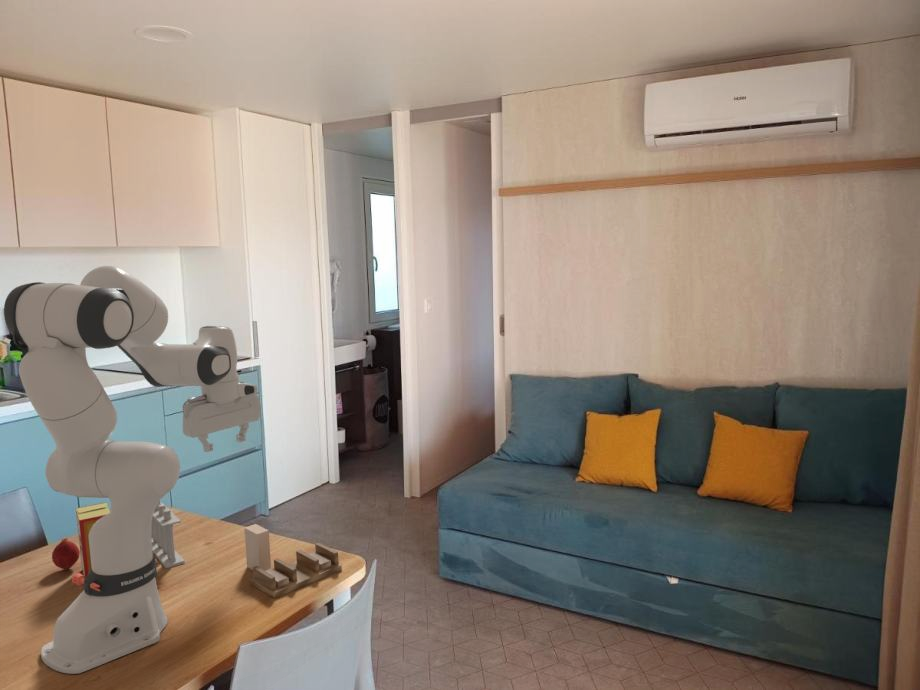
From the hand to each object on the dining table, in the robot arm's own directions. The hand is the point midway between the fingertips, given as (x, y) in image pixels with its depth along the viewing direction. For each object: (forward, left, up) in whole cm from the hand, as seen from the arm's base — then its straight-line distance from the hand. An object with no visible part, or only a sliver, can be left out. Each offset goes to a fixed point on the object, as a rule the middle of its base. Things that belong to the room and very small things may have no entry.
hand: (225, 446), depth 170 cm
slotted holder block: (0, -24, -28) cm, 37 cm away
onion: (-27, +27, -28) cm, 48 cm away
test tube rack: (-8, +18, -28) cm, 35 cm away
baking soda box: (-24, +18, -28) cm, 41 cm away
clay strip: (-2, -13, -28) cm, 31 cm away
